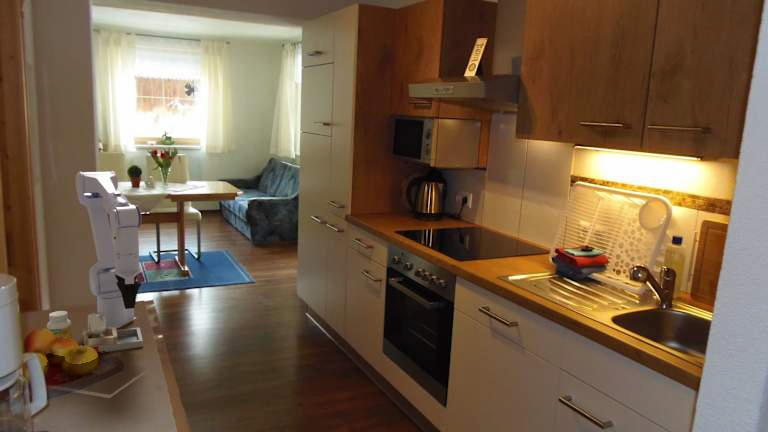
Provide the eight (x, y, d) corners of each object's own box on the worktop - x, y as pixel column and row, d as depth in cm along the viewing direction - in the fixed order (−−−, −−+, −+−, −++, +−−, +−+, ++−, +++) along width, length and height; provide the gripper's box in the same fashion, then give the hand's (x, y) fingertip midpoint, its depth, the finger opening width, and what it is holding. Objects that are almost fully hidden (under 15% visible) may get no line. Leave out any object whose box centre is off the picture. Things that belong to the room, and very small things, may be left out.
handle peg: (96, 337, 145) (95, 311, 143) (109, 339, 144) (109, 313, 143) (84, 342, 141) (84, 316, 140) (98, 345, 140) (98, 318, 139)
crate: (84, 351, 138) (83, 340, 137) (84, 340, 144) (83, 330, 144) (117, 347, 141) (117, 336, 141) (116, 336, 148) (115, 326, 147)
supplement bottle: (71, 344, 144) (70, 308, 142) (73, 351, 140) (72, 315, 138) (47, 347, 141) (45, 311, 139) (48, 355, 137) (46, 318, 135)
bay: (83, 357, 137) (82, 347, 136) (83, 342, 145) (82, 333, 145) (143, 348, 143) (142, 339, 143) (139, 335, 152) (139, 326, 151)
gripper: (108, 247, 148) (110, 297, 150) (110, 260, 135) (112, 314, 137) (137, 246, 151) (138, 294, 153) (142, 258, 138) (144, 310, 141)
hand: (128, 303), depth 145 cm, fingers open, 7 cm apart
